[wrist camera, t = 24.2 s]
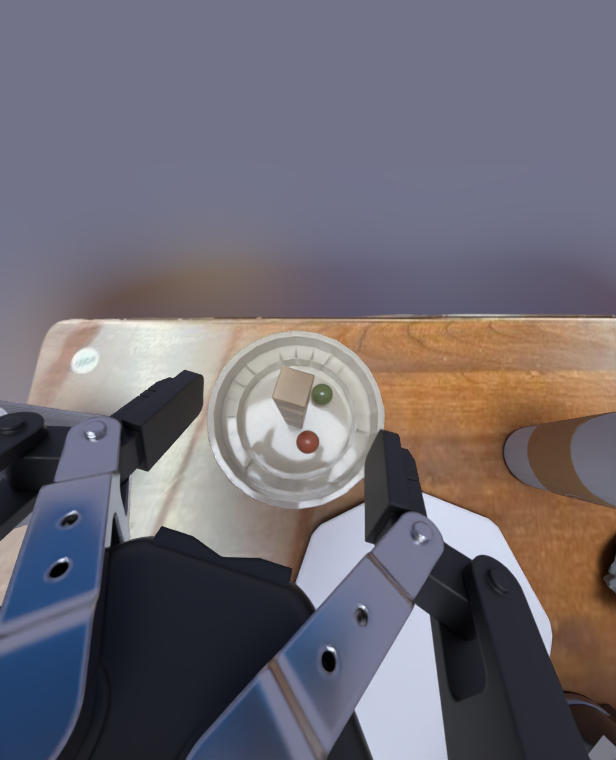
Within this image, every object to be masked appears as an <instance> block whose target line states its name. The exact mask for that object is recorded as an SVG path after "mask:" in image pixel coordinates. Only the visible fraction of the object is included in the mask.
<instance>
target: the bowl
mask: <svg viewBox="0 0 616 760" xmlns="http://www.w3.org/2000/svg"><path fill="white" fill-rule="evenodd" d="M282 366H285V367H288V368H292V369H295V370H299V371H302V372H306V373H309V374H313V375H314V376H315V377H314V382H313V386H312V389H313V387H314V386H315V385H317V384H320V383H324V384H327V385H328V386H330V387H331V389H332V391H333V398H332V400H331V402H330V403H328V404H327V405H324V406H320V405H317V404H315V403H314V402H313V400H312V398H311V395H310V399H309V403H308V408H307V412H306V416H305V419H304V423H303V426H302V428H298V427H295V426H292V425H288V424H286V422H285V420H284V419H283V417H282V415H281V413H280V411H279V410H278V408H277V406H276V404H275V402H274V401H273V399H272V394H273V391H274V388H275V385H276V382H277V379H278V376H279V373H280V370H281V367H282ZM311 391H312V390H311ZM207 425H208V439H209V442H210V445H211V448H212V451H213V453H214V456H215V459H216V462H217V463H218V464H219V466H220V467H221V469H222V470H223V472H224V473H225V475H226V476H227V477H228V479H229V480H230V481H231V482H232V483H233V484H234V485H236V486H237V487H238V488H239V489H240V490H242V491H243V492H244V493H245V494H247V495H248V496H249V497H251V498H253V499H256V500H258V501H261V502H263V503H265V504H268V505H270V506H273V507H280V508H289V509H304V508H309V507H315V506H321V505H324V504H326V503H328V502H330V501H332V500H334V499H336V498H338V497H340V496H342V495H344V494H346V493H347V492H348V491H349V490H350V489H351V488H353V487H354V486H355V485H356V484H357V483H358V482H359V481H360V480H361V479H363V477H364V466H365V460H366V456H367V454H368V452H369V450H370V448H371V445H372V443H373V441H374V439H375V437H376V435H377V433H378V431H379V430H380V429H383V430H384V407H383V402H382V398H381V393H380V390H379V387H378V385H377V383H376V381H375V379H374V377H373V375H372V373H371V371H370V370H369V368H368V367H367V366H366V365H365V364H364V363H363V361H362V360H361V359H360V358H359V357H358V356H357V355H356V354H355V353H354V352H353V351H351V350H350V349H349V348H347V347H346V346H344V345H343V344H341V343H340V342H338V341H337V340H334V339H332V338H329V337H326V336H324V335H321V334H318V333H312V332H303V331H289V332H282V333H275V334H272V335H269V336H266V337H264V338H261V339H259V340H256V341H254V342H253V343H251V344H250V345H248V346H247V347H245V348H244V349H243V350H241V351H240V352H238V353H237V354H236V355H235V356H234V357H233V358H232V359H231V361H230V362H229V363H228V364H227V365H226V366H225V368H224V369H223V370H222V371H221V373H220V375H219V377H218V379H217V381H216V383H215V385H214V387H213V389H212V392H211V396H210V401H209V406H208V411H207ZM305 430H310V431H313V432H315V433H316V434H317V436H318V438H319V447H318V449H317V450H316V451H315V452H314V453H311V454H304V453H302V452H301V451H299V449H298V448H297V445H296V439H297V437H298V435H299V434H300V433H301V432H303V431H305Z"/></svg>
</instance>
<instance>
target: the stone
mask: <svg viewBox="0 0 616 760" xmlns="http://www.w3.org/2000/svg"><path fill="white" fill-rule="evenodd" d="M608 572H609V574H608V575H606V576H604V578H603V579H604V581H605V582H606V583H607V586H608V587H609V588H610V589H612V590H613V591H614V592H615V593H616V555H615V559H614V562H613V563H612V564H611V566H610V567H609V570H608Z"/></svg>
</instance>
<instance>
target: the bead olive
mask: <svg viewBox="0 0 616 760" xmlns="http://www.w3.org/2000/svg"><path fill="white" fill-rule="evenodd" d="M311 398H312V400H313V402H314V403H315V404H317V405H320V406H324V405H327V404H328V403H330V402H331V400H332V398H333V391H332V389H331V387H330V386H328V385H327V384H324V383H320V384H317V385H315V386H314V387H313V389H312V391H311Z"/></svg>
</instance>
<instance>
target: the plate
mask: <svg viewBox="0 0 616 760" xmlns="http://www.w3.org/2000/svg"><path fill="white" fill-rule="evenodd" d="M422 495H423V499H424V504H425V508H426V513H427V517H428V518H429V519H430V520H431V521H432V522H433V523H434V524H435V525H436V526H437V528H438V529H439V531H440V533H441V534H442V537H443V540H444V542H445V543H447V544H448V545H449V546H451V547H452V548H454V549H456V550H457V551H459V552H460V553H462V554H464V555H465V556H467V557H468V558H470V559H472V560H473V559H474V558H475V557H476V556H478V555H487V556H490V557H493V558H495V559H496V560H498V561H499V562H501V563H502V564H503V565H504V566H506V567H507V568H508V569H509V570H510V571H511V573H512V574H513V575H514V576H515V578H516V579H517V580H518V582H519V584H520V585H521V587H522V590H523V592H524V594H525V597H526V599H527V602H528V604H529V607H530V609H531V612H532V614H533V617H534V619H535V622H536V624H537V627H538V629H539V632H540V635H541V637H542V640H543V642H544V645H545V647H546V650H547V652H548V655H549V657H550V651H551V643H552V631H551V626H550V621H549V619H548V617H547V615H546V613H545V611H544V610H543V608H542V606H541V604H540V602H539V601H538V599H537V597H536V595H535V593H534V591H533V590H532V588H531V586H530V584H529V582H528V581H527V579H526V577H525V575H524V573H523V571H522V570H521V568H520V566H519V564H518V562H517V561H516V559H515V557H514V555H513V553H512V551H511V550H510V548H509V546H508V544H507V542H506V541H505V539H504V537H503V535H502V533H501V531H500V530H499V528H498V527H497V526H496V525H495V524H494V523H493V522H492V521H491V520H490V519H488V518H485V517H483V516H480V515H478V514H475V513H473V512H470V511H468V510H465V509H463V508H460V507H458V506H455V505H453V504H450V503H448V502H445V501H443V500H440V499H438V498H435V497H433V496H430V495H428V494H425V493H423V492H422ZM373 548H374V544H371V543H368V542H365V502H364V503H362V504H360V505H358V506H356V507H354V508H352V509H350V510H348V511H346V512H344V513H342V514H340V515H338V516H336V517H334V518H332V519H330V520H328V521H326V522H324V523H322V524H320V525H319V526H318V528H317V529H316V530H315V531H314V532H313V533H312V536H311V539H310V542H309V545H308V548H307V551H306V553H305V556H304V559H303V562H302V565H301V568H300V571H299V574H298V577H297V580H296V584H297V585H298V586H299V587H300V588H301V589H302V590H303V591H304V592H305V594H306V595H307V596H308V597H309V599H310V600H311V602H312V603H313V605H314V606H315V608H316V610H317V608H318V607H319V606H320V605H321V604H322V603H323V602H324V601H325V599H326V598H327V597H328V596H329V595H330V594H331V593H332V592H333V590H334V589H335V588H336V587H337V586H338V585H339V584H340V583H341V581H342V580H343V579H344V578H345V577H346V576H347V575H348V574H349V573H350V571H351V570H352V569H353V568H354V567H355V566H356V565H357V564H358V562H359V561H360V560H361V559H362V558H363V557H364V556H365V555H366V554H367V553H368V552H370V551H371V550H372V549H373ZM355 712H356V714H357V717H358V720H359V722H360V725H361V728H362V730H363V733H364V736H365V738H366V741H367V744H368V746H369V749H370V752H371V754H372V757H373V760H448V757H447V749H446V741H445V733H444V725H443V717H442V709H441V701H440V693H439V686H438V678H437V670H436V662H435V654H434V646H433V638H432V630H431V622H430V615H429V614H428V613H427V612H425V611H424V610H422V609H421V608H420V607H418V606H417V605H416V604H415V605H414V608H413V610H412V612H411V614H410V616H409V617H408V619H407V621H406V623H405V624H404V626H403V628H402V629H401V631H400V633H399V634H398V636H397V638H396V640H395V641H394V643H393V645H392V646H391V648H390V650H389V652H388V653H387V655H386V657H385V658H384V660H383V662H382V663H381V665H380V667H379V669H378V670H377V672H376V674H375V675H374V677H373V679H372V681H371V682H370V684H369V686H368V687H367V689H366V691H365V692H364V694H363V696H362V698H361V699H360V701H359V703H358V704H357V706H356V708H355Z"/></svg>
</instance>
